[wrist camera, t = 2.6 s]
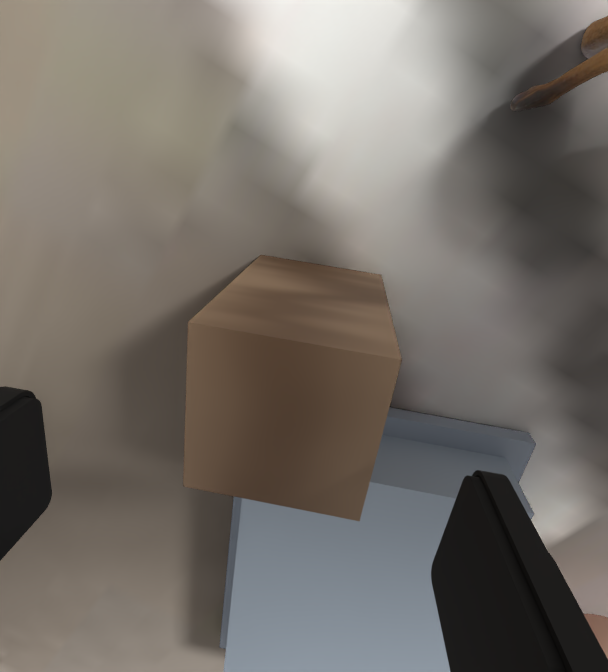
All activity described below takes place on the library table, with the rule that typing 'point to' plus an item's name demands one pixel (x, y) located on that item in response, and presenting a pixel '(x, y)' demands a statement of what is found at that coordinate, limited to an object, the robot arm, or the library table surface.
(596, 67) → the lion figurine
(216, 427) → the walnut block
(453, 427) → the plinth
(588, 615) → the peach capsule shape
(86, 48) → the library table surface
